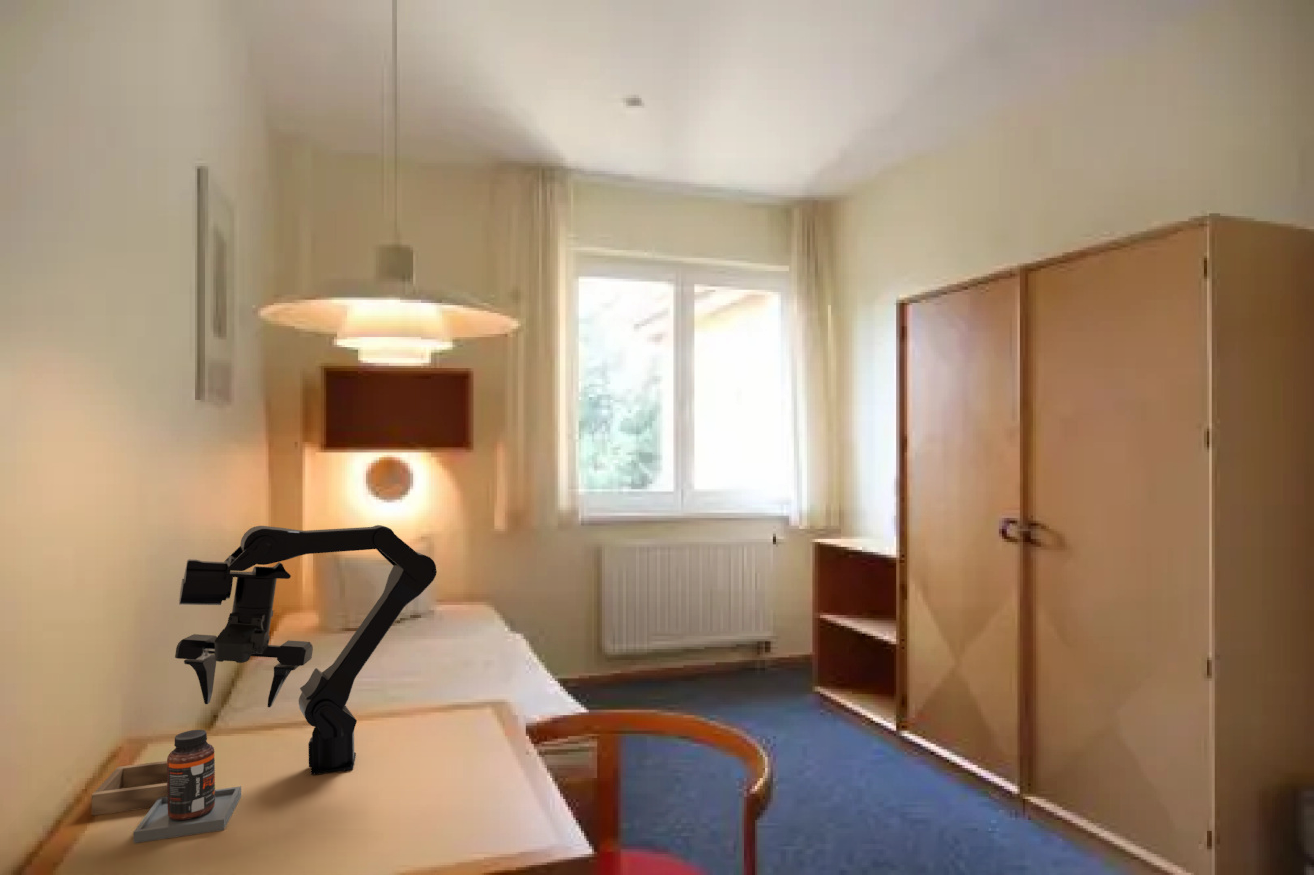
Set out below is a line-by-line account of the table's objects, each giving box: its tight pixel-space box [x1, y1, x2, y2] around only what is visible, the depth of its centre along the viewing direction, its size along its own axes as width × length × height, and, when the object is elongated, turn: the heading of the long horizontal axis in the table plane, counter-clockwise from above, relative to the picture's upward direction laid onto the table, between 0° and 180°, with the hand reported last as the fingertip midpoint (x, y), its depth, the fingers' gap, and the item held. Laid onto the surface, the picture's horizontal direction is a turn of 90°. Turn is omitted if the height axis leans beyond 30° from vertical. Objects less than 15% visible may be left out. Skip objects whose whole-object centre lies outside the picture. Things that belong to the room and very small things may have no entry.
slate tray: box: [132, 785, 242, 844], centre depth 112 cm, size 11×11×2 cm
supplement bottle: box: [166, 729, 216, 820], centre depth 113 cm, size 6×6×11 cm
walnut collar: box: [91, 760, 168, 816], centre depth 120 cm, size 10×10×3 cm
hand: (238, 705), depth 122 cm, fingers open, 9 cm apart
